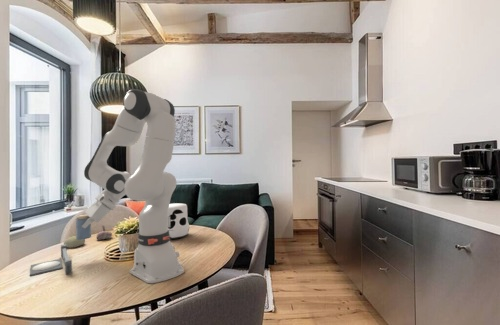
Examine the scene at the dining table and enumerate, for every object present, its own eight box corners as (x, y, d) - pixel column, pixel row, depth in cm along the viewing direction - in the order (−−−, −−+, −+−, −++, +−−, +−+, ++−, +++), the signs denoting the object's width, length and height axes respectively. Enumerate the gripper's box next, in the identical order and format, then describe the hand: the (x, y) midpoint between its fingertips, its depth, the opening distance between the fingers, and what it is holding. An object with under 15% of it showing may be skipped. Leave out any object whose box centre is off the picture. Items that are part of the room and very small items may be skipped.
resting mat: (62, 268, 102) (62, 266, 102) (30, 276, 95) (29, 274, 95) (60, 260, 111) (60, 258, 111) (30, 266, 105) (30, 264, 105)
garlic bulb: (93, 241, 138) (93, 226, 138) (101, 237, 145) (101, 223, 145) (107, 241, 138) (107, 226, 138) (114, 237, 145) (114, 223, 145)
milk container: (186, 231, 155) (186, 202, 154) (191, 238, 139) (191, 206, 139) (157, 234, 148) (156, 204, 147) (159, 243, 132) (158, 209, 132)
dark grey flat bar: (71, 273, 97) (71, 260, 97) (65, 274, 96) (65, 261, 96) (66, 254, 117) (66, 244, 117) (61, 256, 116) (60, 245, 116)
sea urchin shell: (69, 246, 124) (64, 233, 127) (65, 255, 127) (59, 242, 130) (89, 241, 132) (83, 229, 135) (84, 249, 135) (79, 237, 138)
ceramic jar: (92, 237, 111) (91, 215, 111) (77, 240, 107) (76, 217, 108) (90, 235, 115) (89, 213, 115) (75, 237, 112) (75, 215, 112)
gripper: (96, 195, 124) (73, 218, 118) (104, 198, 108) (78, 225, 102) (107, 203, 127) (84, 226, 120) (116, 207, 111) (91, 234, 105)
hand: (81, 225), depth 111 cm, fingers closed on ceramic jar, 5 cm apart
